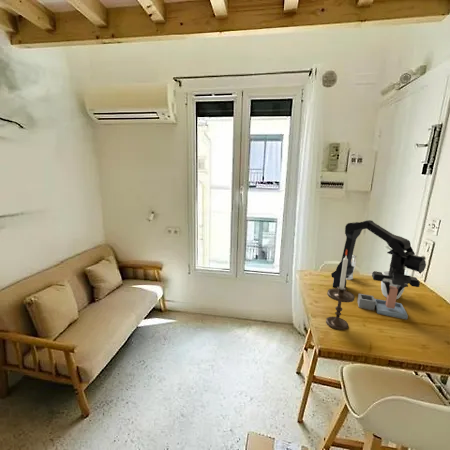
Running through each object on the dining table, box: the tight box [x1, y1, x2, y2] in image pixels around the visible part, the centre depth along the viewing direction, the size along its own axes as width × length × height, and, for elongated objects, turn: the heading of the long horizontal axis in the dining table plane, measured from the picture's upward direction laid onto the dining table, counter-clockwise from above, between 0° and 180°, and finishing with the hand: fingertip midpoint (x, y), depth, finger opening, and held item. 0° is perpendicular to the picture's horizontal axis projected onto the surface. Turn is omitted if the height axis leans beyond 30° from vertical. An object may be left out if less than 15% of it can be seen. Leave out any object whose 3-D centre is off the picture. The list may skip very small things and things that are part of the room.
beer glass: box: [346, 254, 357, 281], centre depth 168 cm, size 7×7×15 cm
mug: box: [380, 270, 406, 300], centre depth 145 cm, size 15×11×13 cm
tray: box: [374, 298, 409, 320], centre depth 130 cm, size 12×12×2 cm
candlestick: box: [325, 249, 356, 331], centre depth 114 cm, size 11×11×35 cm
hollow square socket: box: [357, 293, 376, 311], centre depth 133 cm, size 7×7×5 cm
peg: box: [385, 286, 398, 309], centre depth 129 cm, size 3×3×10 cm
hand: (391, 295), depth 128 cm, fingers closed on peg, 3 cm apart
